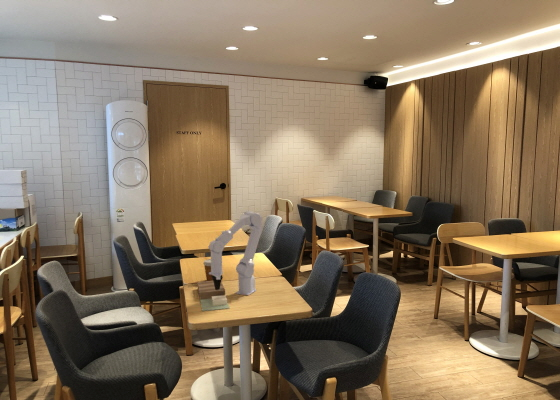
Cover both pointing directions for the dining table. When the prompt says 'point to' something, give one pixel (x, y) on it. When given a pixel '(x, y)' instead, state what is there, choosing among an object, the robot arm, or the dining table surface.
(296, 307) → the dining table surface
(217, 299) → the tile
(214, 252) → the robot arm
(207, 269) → the disposable coffee cup
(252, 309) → the dining table surface
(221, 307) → the mat
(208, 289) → the deck
